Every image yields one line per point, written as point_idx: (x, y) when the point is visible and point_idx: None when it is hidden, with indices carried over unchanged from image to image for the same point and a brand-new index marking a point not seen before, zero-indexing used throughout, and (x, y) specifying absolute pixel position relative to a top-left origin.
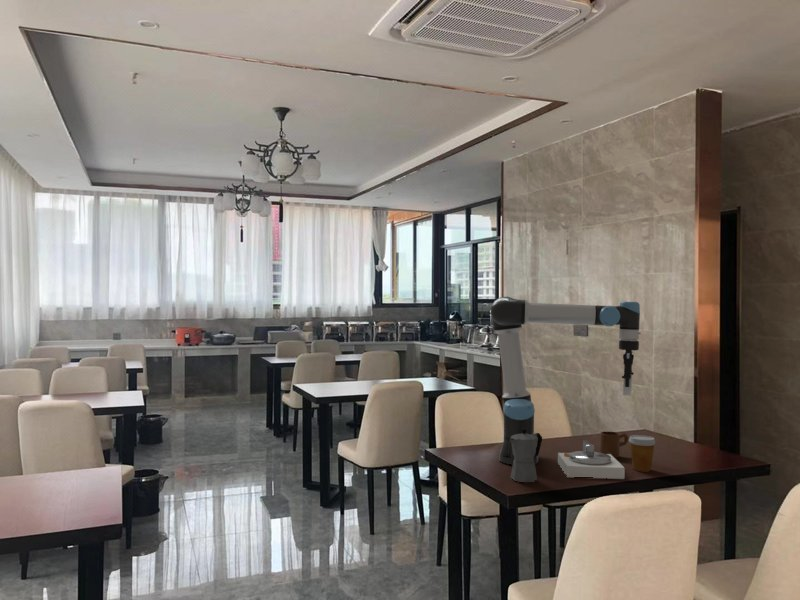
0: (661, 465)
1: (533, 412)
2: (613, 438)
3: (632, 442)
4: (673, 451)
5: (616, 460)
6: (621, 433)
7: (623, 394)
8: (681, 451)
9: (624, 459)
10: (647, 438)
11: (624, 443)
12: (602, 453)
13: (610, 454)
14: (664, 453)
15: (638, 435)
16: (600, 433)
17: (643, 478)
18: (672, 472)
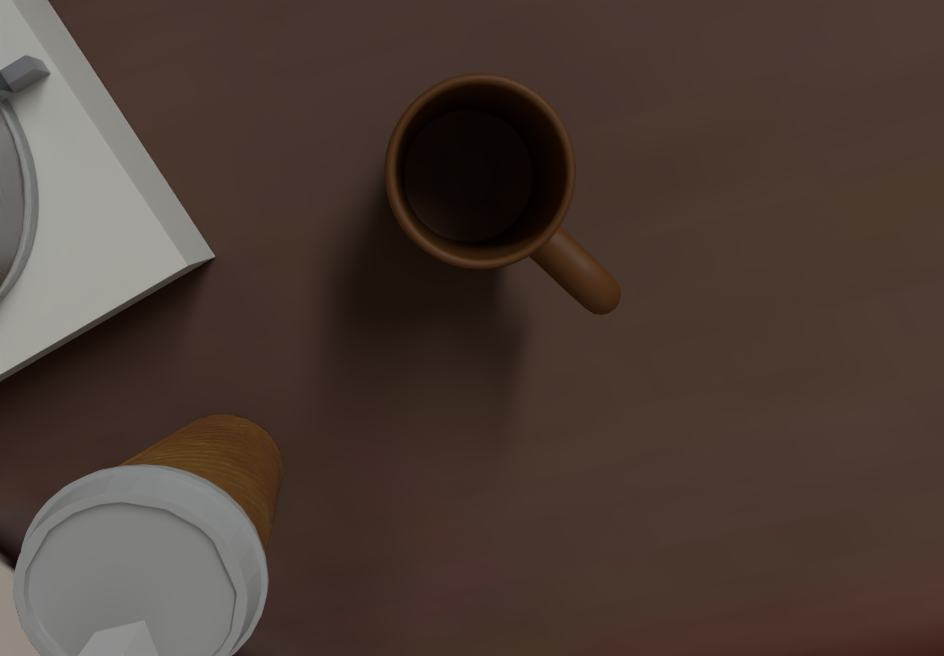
0: (422, 540)
1: None
2: (405, 232)
3: (34, 522)
4: (879, 513)
5: (7, 364)
6: (576, 267)
7: (91, 648)
8: (905, 554)
9: (438, 298)
10: (170, 630)
11: (559, 283)
12: (4, 245)
13: (177, 267)
14: (785, 479)
15: (217, 543)
16: (445, 80)
17: (6, 531)
18: (283, 631)
